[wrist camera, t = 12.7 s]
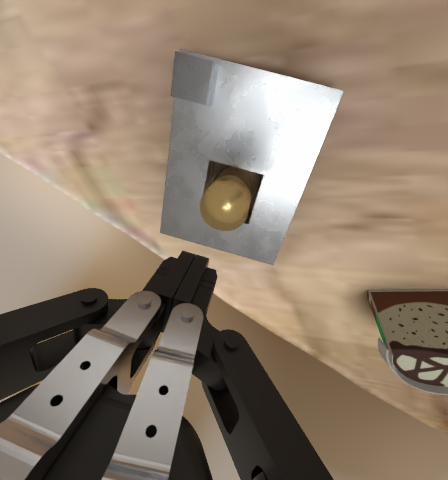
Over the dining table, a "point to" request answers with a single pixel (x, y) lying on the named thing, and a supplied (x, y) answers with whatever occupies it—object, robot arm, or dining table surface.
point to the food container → (414, 335)
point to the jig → (241, 148)
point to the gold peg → (227, 199)
